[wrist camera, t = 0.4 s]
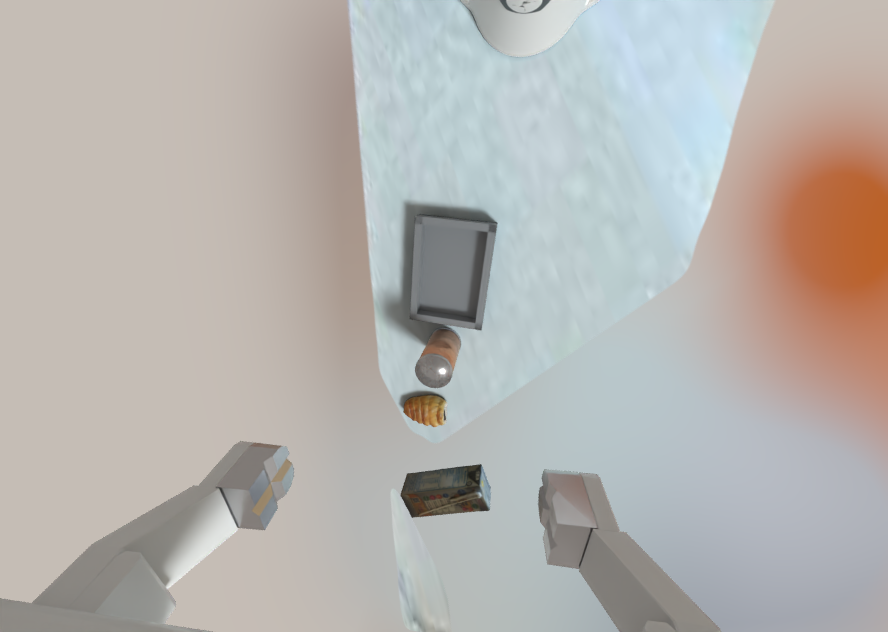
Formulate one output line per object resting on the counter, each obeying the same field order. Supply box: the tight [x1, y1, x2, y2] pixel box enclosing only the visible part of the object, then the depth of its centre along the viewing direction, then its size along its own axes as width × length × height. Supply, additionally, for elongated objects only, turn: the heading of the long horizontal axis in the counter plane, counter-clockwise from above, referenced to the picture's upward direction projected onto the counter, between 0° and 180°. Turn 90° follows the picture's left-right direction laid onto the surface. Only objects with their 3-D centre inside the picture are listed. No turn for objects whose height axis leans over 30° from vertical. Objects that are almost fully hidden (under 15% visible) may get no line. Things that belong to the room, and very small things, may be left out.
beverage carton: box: [401, 464, 491, 518], centre depth 72 cm, size 8×19×7 cm, turn 109°
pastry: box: [404, 395, 447, 427], centre depth 67 cm, size 9×7×4 cm
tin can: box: [415, 328, 461, 388], centre depth 57 cm, size 6×6×11 cm
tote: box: [410, 214, 497, 330], centre depth 55 cm, size 18×13×3 cm
